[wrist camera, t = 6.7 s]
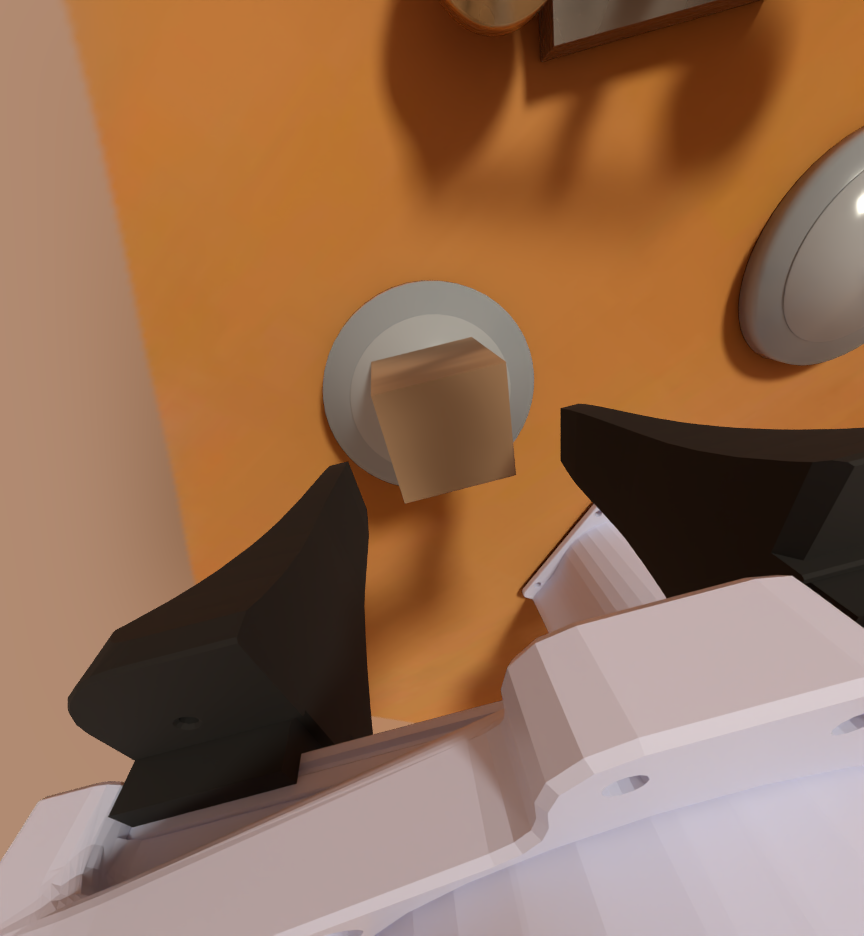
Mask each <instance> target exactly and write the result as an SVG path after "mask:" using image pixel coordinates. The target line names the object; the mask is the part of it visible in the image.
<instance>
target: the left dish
mask: <svg viewBox="0 0 864 936" xmlns="http://www.w3.org/2000/svg"><path fill="white" fill-rule="evenodd" d="M469 337H473V338H474V339H475V340H477V341H478V342H480V343H481V344H482V345H484V346H485V347H486V348H488V349H489V350H491V351H492V352H493V353H495V354H496V355H497V356H499V357H500V358H501V359H503V360H504V361H506V367H507V379H508V390H509V402H510V413H511V425H512V436H513V442H514V441H515V439H516V438H517V436H518V435H519V433H520V431H521V429H522V428H523V425H524V423H525V421H526V418H527V416H528V413H529V410H530V406H531V403H532V396H533V390H534V372H533V363H532V359H531V354H530V350H529V348H528V345H527V343H526V340H525V337H524V336H523V334H522V332H521V330H520V329H519V327H518V325H517V324H516V323H515V321H514V320H513V319H512V317H511V316H510V315H509V314H508V313H507V312H506V311H505V310H504V309H503V308H502V307H501V306H500V305H499V304H498V303H496V302H495V301H493V300H492V299H491V298H489V297H488V296H486V295H484V294H482V293H480V292H478V291H476V290H474V289H472V288H469V287H466V286H463V285H459V284H456V283H451V282H445V281H438V280H421V281H415V282H408V283H404V284H401V285H398V286H395V287H392V288H390V289H387V290H385V291H383V292H381V293H379V294H377V295H376V296H374V297H373V298H371V299H370V300H368V301H367V302H366V303H364V304H363V305H362V306H361V307H360V308H359V309H358V310H357V311H356V312H354V314H353V315H352V316H351V317H350V318H349V320H348V321H347V322H346V323H345V325H344V326H343V328H342V329H341V331H340V333H339V334H338V336H337V338H336V340H335V342H334V344H333V346H332V349H331V351H330V354H329V356H328V360H327V363H326V367H325V371H324V380H323V401H324V407H325V413H326V416H327V419H328V423H329V426H330V428H331V430H332V432H333V434H334V437H335V438H336V440H337V442H338V443H339V445H340V446H341V448H342V449H343V450H344V451H345V453H346V454H347V455H348V456H349V457H350V458H351V459H352V460H353V461H354V462H355V463H356V464H357V465H358V466H359V467H361V468H362V469H364V470H365V471H366V472H368V473H369V474H371V475H373V476H375V477H377V478H379V479H381V480H383V481H386V482H388V483H391V484H395V485H398V486H399V484H398V480H397V477H396V474H395V471H394V468H393V464H392V461H391V458H390V455H389V452H388V449H387V445H386V442H385V439H384V436H383V433H382V430H381V426H380V423H379V420H378V417H377V414H376V411H375V407H374V404H373V401H372V398H371V362H372V361H376V360H380V359H384V358H388V357H392V356H397V355H401V354H405V353H409V352H413V351H417V350H421V349H425V348H429V347H433V346H437V345H441V344H445V343H449V342H453V341H457V340H461V339H465V338H469Z"/></svg>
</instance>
